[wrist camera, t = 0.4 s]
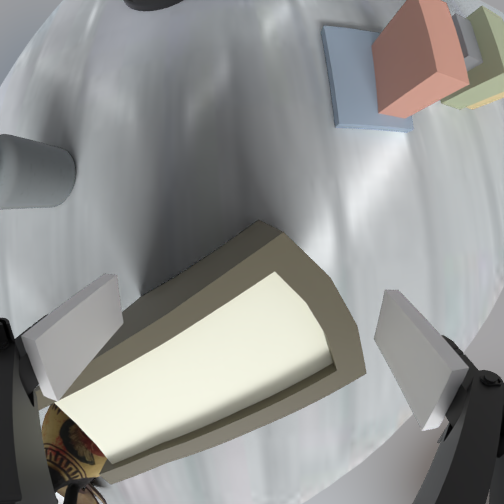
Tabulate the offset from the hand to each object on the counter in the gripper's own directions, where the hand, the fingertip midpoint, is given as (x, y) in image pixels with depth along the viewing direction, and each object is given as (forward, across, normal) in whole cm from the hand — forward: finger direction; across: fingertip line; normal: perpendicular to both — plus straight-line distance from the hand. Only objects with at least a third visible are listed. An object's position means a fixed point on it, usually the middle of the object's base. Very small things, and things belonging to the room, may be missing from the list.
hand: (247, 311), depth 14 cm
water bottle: (+27, -34, +6) cm, 44 cm away
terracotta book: (+29, +18, +22) cm, 41 cm away
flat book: (+31, +15, +22) cm, 41 cm away
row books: (+33, +33, +27) cm, 54 cm away
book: (+27, -6, -10) cm, 29 cm away
